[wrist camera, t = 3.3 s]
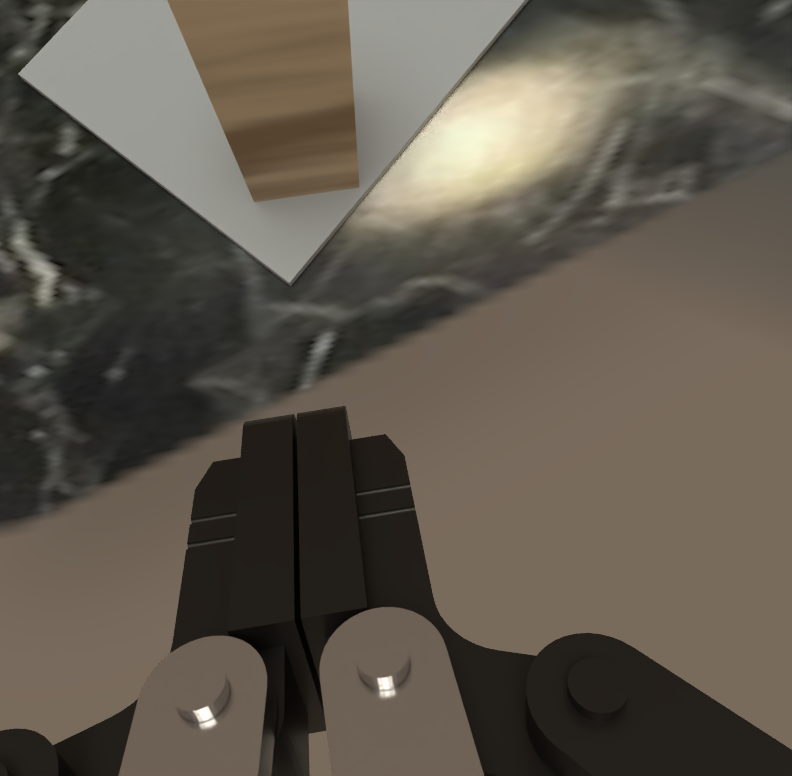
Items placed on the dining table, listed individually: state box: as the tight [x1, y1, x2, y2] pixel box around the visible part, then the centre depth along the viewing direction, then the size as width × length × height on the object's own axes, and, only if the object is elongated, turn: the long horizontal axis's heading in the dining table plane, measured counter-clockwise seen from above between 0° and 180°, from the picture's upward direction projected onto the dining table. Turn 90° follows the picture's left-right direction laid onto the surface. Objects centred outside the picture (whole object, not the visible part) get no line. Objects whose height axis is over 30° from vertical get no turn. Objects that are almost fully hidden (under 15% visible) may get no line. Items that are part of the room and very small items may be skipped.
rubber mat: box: [19, 0, 529, 286], centre depth 31 cm, size 18×15×1 cm
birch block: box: [167, 0, 359, 202], centre depth 23 cm, size 4×4×14 cm
